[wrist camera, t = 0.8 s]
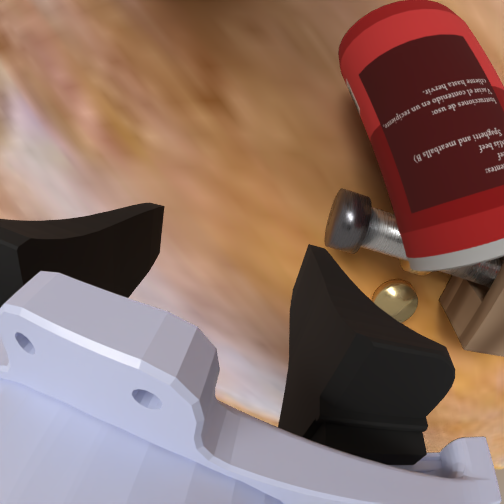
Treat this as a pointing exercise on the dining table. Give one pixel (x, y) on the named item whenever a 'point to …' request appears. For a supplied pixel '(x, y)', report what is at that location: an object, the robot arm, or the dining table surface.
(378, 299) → the spacer
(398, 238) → the shaft
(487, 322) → the block
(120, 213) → the robot arm
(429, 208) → the canned food
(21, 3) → the dining table surface
